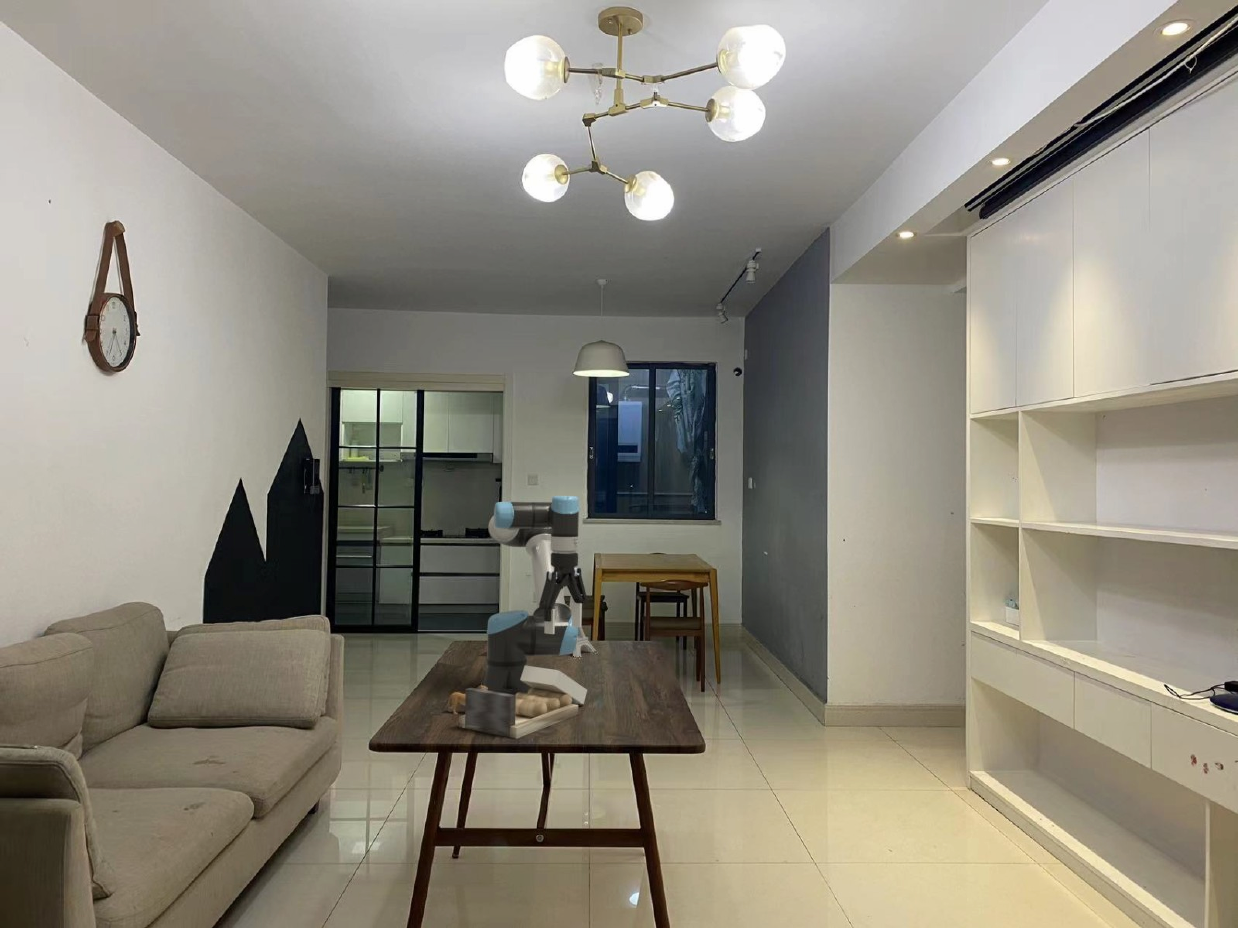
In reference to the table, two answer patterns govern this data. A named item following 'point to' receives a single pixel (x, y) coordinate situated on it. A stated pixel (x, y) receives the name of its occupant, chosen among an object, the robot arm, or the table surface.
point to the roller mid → (541, 700)
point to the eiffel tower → (581, 638)
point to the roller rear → (553, 696)
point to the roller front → (530, 708)
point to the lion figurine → (459, 699)
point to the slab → (553, 682)
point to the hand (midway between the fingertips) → (563, 630)
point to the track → (505, 714)
